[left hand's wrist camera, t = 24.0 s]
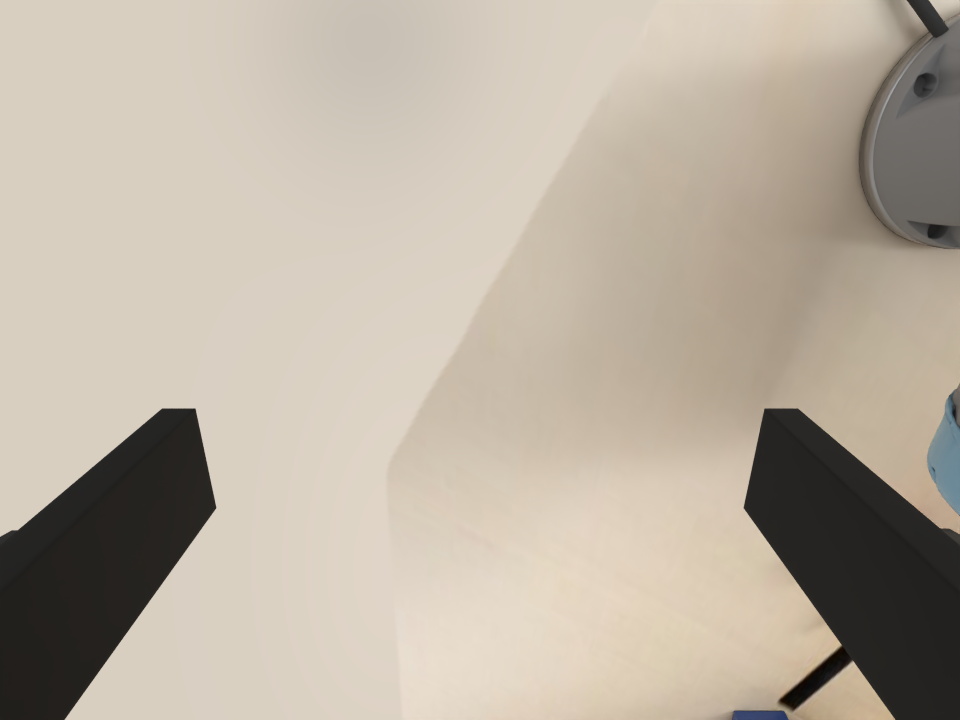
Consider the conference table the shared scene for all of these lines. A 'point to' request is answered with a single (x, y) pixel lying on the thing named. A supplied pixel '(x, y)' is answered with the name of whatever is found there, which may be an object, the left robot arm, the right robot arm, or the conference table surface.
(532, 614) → the conference table surface
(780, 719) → the brick
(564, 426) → the conference table surface
